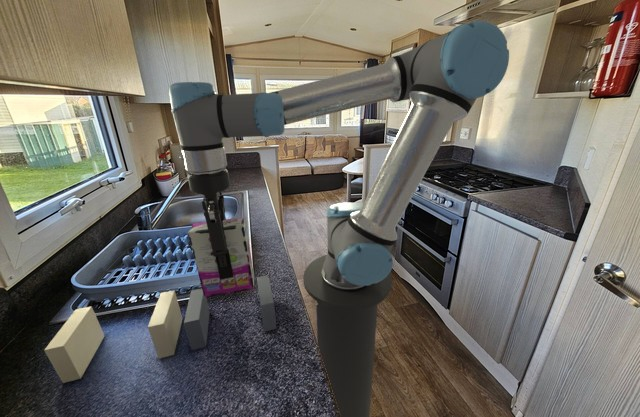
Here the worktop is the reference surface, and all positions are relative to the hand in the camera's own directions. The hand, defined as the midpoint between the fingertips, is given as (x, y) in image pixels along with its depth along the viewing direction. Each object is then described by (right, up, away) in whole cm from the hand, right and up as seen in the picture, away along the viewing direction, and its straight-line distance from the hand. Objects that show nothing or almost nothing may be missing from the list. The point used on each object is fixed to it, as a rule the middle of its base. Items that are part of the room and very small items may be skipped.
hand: (227, 269), depth 60 cm
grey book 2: (+8, -13, +8) cm, 17 cm away
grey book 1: (-7, -15, +4) cm, 18 cm away
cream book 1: (-30, -19, -3) cm, 35 cm away
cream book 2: (-14, -16, +2) cm, 21 cm away
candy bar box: (0, -5, +2) cm, 5 cm away
